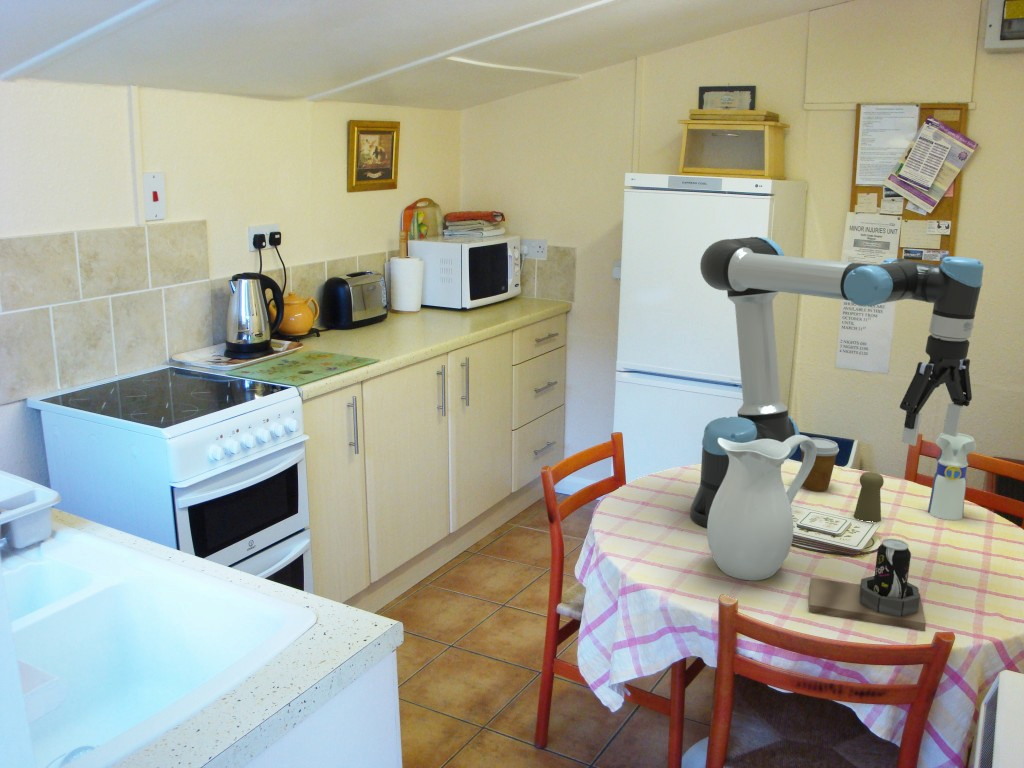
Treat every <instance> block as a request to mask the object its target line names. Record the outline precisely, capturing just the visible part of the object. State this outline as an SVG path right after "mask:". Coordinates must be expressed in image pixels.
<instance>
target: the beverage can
mask: <svg viewBox="0 0 1024 768" xmlns="http://www.w3.org/2000/svg"><path fill="white" fill-rule="evenodd" d="M909 547H910V546H909V544H908V542H905V541H903V540H900V539H896V538H885V539H883V540H882V542H881V544H880V545H879V546H878V547H877V550H876V551H877V552H876V560H875V561H876V562H875V568H874V575H873V576H874V583H873V592H875V593H877V594H879V595H881V596H885V597H892V598H898V599H903V598H905V596H906V589H907V582H908V580H909V572H910V566H911V565H910V564H911V560H912V559H911V558H912V553H911V550H910V549H909Z"/></svg>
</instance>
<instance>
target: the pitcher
mask: <svg viewBox="0 0 1024 768" xmlns="http://www.w3.org/2000/svg"><path fill="white" fill-rule="evenodd" d="M810 438H811V437H809V436H807V435H803V434H799V435H794V436H792V437H790V438H788V439H786V440H785V441H784V442H780V441H777V440H773V439H759V440H755V441H751V442H747V443H737V442H732V441H728V440H726V439H723V438H718V440H717V441H718V445H719V446H720V447H721V448H722V449H723V450H724V451H725V452H726V453H727V455H728V457H729V466H728V470H727V473H726V476H725V478H724V480H723V482H722V484H721V486H720V488H719V489H718V491H717V493H716V495H715V498H714V500H713V503H712V505H711V508H710V512H709V516H708V523H707V527H706V531H707V532H706V535H707V543H708V547H709V550H710V552H711V555H712V557H713V560H714V561H715V563H716V565H717V567H719V569H720V570H721V571H722V573H724V574H725V575H727V576H730V577H732V578H735V579H737V580H738V579H739V580H744V581H762V580H766V579H769V578H771V577H773V576H774V575H775V573H777V571H778V570H779V569H780V568H781V567H782V565H783V563H785V561H786V559H787V558H788V555H789V553H790V552H791V551H790V550H791V548H792V545H793V544H792V543H793V538H794V518H793V511H792V507H791V506H792V503H793V502H794V501H793V500H795V497H796V496H797V494H798V493H799V492H800V491H799V490H801V487H803V483H804V481H805V480H806V478H807V476H808V474H809V473H810V471H811V469H812V467H813V465H814V462H815V459H816V453H817V450H816V445H815V443H814V441H813V440H812V439H810ZM802 443H803V444H804V447H805V453H804V459H803V462H802V461H801V464H800V468H799V470H798V471H797V474H796V476H795V478H794V479H793V481H792V483H791V484H790V486H789V487H788V489H786V488H785V485H784V482H783V481H784V480H783V479H782V465H783V464H784V463H785V461H786V460H785V458H786V457H787V456H788V455H789V454H790V452H791V450H792V449H793V448H794V447H795V446H797V445H798V446H800V444H802Z"/></svg>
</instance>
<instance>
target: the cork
mask: <svg viewBox="0 0 1024 768" xmlns="http://www.w3.org/2000/svg"><path fill="white" fill-rule="evenodd" d="M884 482H885V481H884V477H883V475H882V474H880V473H878V472H874V471H873V472H872V471H866V472H862V474H861V475H860V478H859V484H860V486H861V487H860V491H859V494H858V498H857V502H856V506H855V509H854V514H853V517H854V519H856V520H858V519H859V520H858V521H860V520H863V521H871V522H872V521H873V522H876V523H879V522H881V521H882V509H881V507H882V506H881V504H882V503H881V502H882V501H881V498H882V497H881V488H883V486H884ZM863 521H862V522H863Z"/></svg>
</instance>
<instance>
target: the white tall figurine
mask: <svg viewBox="0 0 1024 768" xmlns="http://www.w3.org/2000/svg"><path fill="white" fill-rule="evenodd" d="M944 422H945V419H944ZM959 425H960V423H959ZM935 444H936V446H937V447H938V448H939V449H940V452H939V455H938V456H937V457H936V461H937V465H936V466H937V467H936V472H935V474H934V476H933V478H932V486H931V493H930V499H929V503H928V508H927V513H928V514H929V513H930V514H931V515H930V514H929V515H930V516H932V515H933V516H932V517H934V516H935V518H937V519H940V518H941V519H940V520H945V519H946V520H945V521H959V519H960V520H962V519H963V518H964V509H965V501H966V500H965V499H966V498H965V497H966V493H967V492H966V490H967V478H966V474H967V469H968V466H969V465H970V462H969V459H968V455H969V454H971V453H973V452H974V451H976V449H977V444H976V441H975V439H974V437H973V436H971V435H969V434H964V433H962V432H961V433H960V432H958V433H957V437H953V436H950V435H947V434H945V433H943V432H941V433H940V434H939V437H938V438H937V439H936V440H935Z"/></svg>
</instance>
